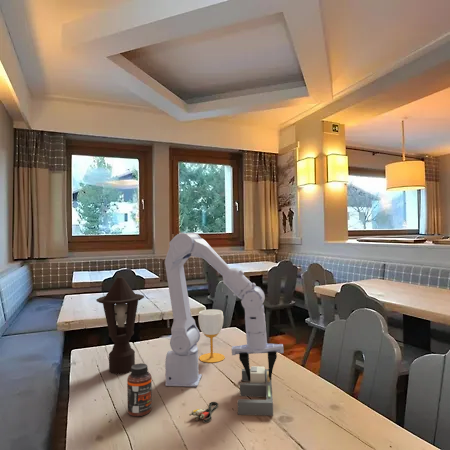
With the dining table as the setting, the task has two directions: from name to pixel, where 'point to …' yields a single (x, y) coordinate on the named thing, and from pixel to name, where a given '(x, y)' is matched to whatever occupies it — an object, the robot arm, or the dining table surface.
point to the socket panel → (256, 391)
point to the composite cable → (204, 412)
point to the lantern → (120, 324)
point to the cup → (211, 332)
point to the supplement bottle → (139, 390)
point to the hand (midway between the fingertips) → (259, 379)
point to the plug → (257, 374)
